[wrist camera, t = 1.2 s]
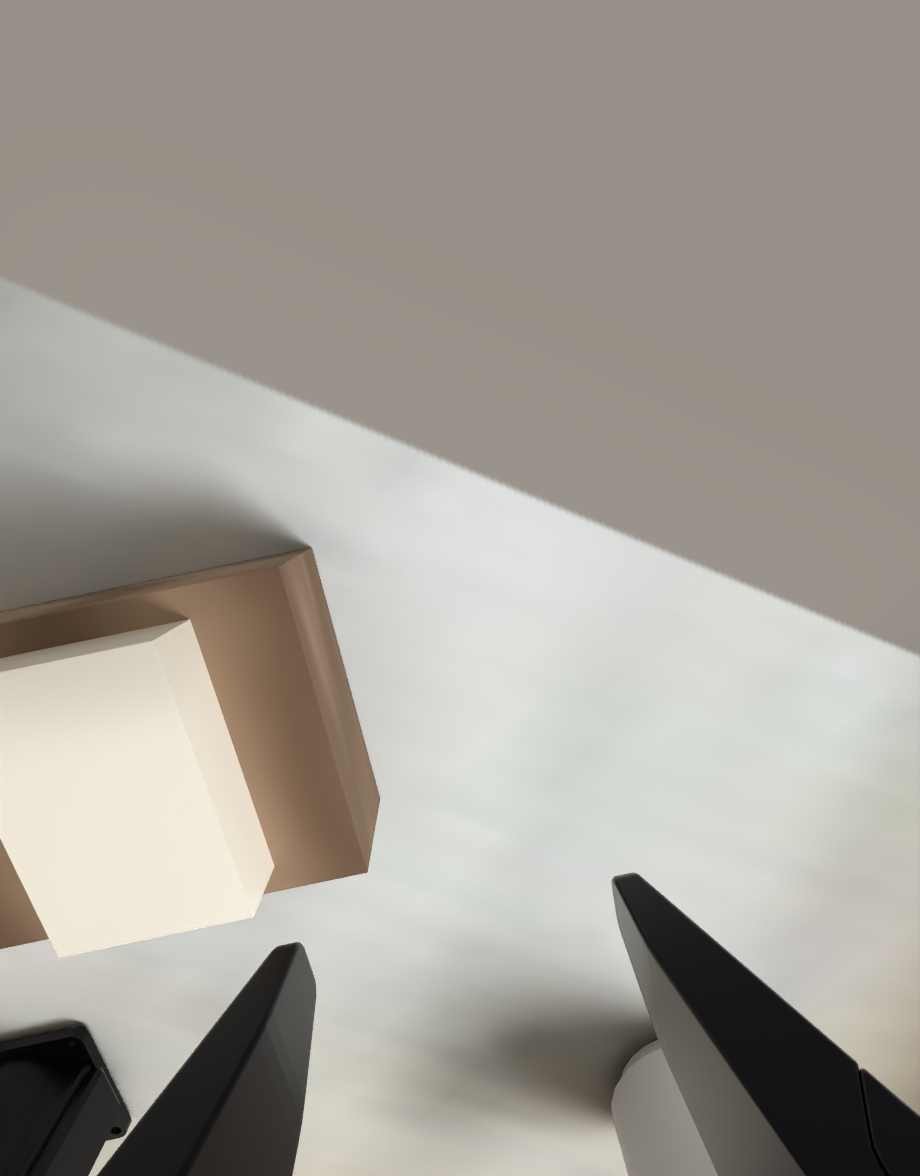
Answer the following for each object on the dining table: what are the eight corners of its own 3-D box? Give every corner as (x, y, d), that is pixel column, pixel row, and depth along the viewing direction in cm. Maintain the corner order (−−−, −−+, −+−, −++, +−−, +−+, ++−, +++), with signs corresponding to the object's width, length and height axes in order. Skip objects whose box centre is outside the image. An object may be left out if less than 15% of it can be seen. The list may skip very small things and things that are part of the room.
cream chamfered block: (102, 902, 17) (58, 958, 15) (-7, 659, 15) (-74, 687, 13) (274, 866, 17) (253, 917, 15) (190, 618, 15) (153, 640, 13)
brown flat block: (57, 865, 21) (-29, 954, 17) (-56, 623, 18) (-187, 662, 14) (380, 798, 21) (367, 872, 17) (311, 547, 18) (278, 567, 15)
